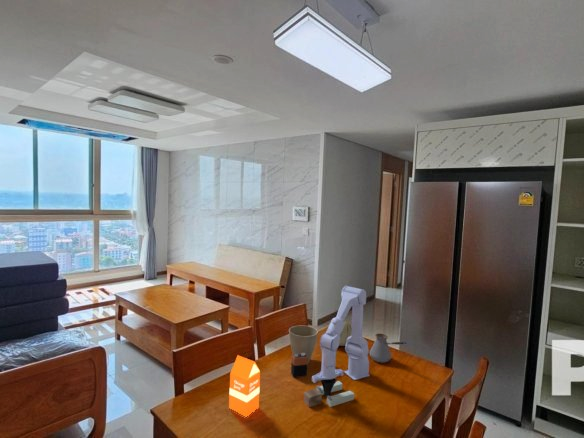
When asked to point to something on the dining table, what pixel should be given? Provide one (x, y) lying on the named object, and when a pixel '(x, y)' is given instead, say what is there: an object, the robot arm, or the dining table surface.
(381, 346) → the coffee pot
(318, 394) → the block
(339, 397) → the rails
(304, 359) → the battery
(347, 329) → the cantaloupe
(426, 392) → the dining table surface
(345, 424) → the dining table surface
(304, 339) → the plant pot
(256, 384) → the orange juice
